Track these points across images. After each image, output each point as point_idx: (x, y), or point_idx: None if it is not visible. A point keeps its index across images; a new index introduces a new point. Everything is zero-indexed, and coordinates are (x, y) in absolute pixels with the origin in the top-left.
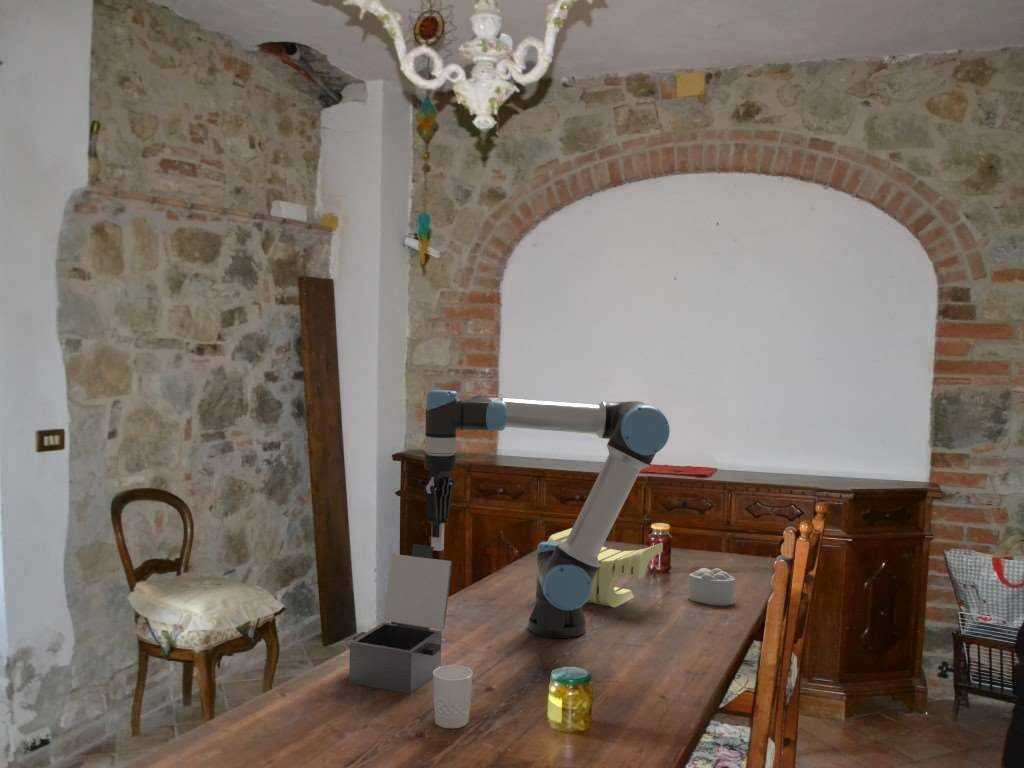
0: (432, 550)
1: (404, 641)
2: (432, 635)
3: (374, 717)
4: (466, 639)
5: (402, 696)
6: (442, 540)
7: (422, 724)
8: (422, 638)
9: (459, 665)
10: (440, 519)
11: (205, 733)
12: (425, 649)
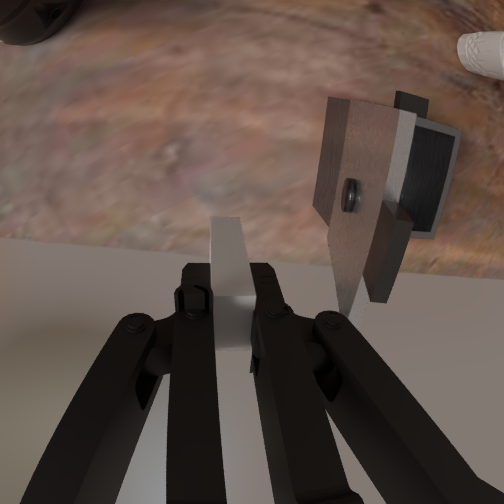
0: (400, 214)
1: None
2: None
3: (476, 143)
4: (153, 108)
5: None
6: (231, 238)
7: (481, 86)
8: None
9: (500, 48)
10: (278, 325)
11: (492, 271)
12: (426, 114)
